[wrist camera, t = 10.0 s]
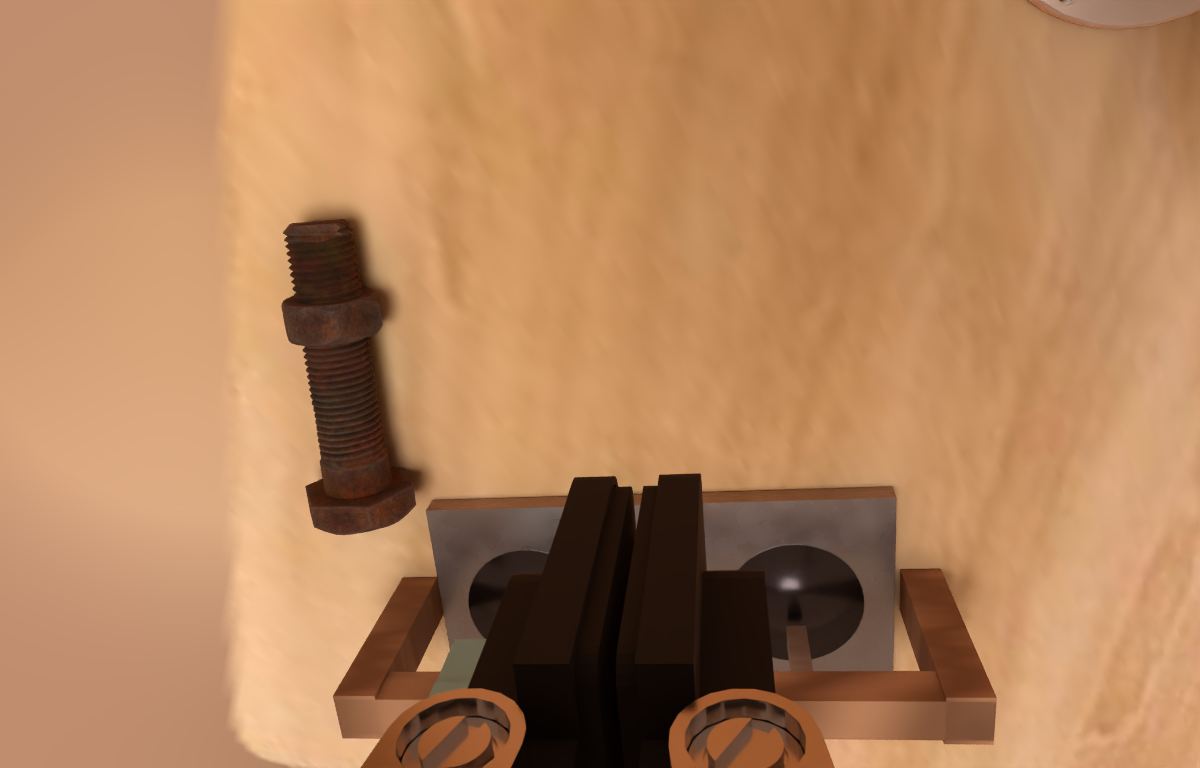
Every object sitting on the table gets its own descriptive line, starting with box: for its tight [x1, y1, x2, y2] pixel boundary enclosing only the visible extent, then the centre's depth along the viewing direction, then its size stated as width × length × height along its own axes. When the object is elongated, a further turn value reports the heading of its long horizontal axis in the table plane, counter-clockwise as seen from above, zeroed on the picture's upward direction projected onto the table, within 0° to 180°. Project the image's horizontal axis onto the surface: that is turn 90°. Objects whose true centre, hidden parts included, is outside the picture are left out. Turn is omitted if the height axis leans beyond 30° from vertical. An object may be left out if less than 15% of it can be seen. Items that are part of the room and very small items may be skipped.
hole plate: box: [426, 487, 896, 671], centre depth 49 cm, size 24×12×1 cm, turn 95°
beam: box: [333, 569, 997, 745], centre depth 45 cm, size 29×3×10 cm, turn 95°
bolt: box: [282, 219, 416, 535], centre depth 45 cm, size 6×5×15 cm
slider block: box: [429, 639, 486, 697], centre depth 43 cm, size 4×4×12 cm
